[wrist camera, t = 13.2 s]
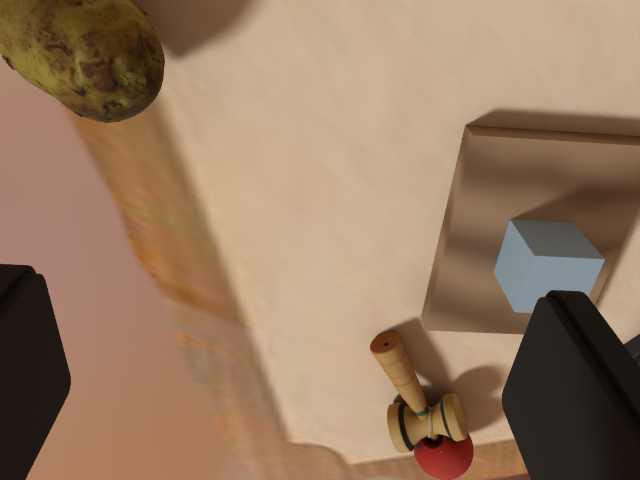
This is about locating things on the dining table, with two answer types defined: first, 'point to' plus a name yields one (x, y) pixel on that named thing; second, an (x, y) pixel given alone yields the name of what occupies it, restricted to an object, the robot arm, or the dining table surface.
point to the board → (525, 214)
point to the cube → (545, 261)
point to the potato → (85, 54)
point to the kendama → (423, 416)
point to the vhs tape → (634, 348)
